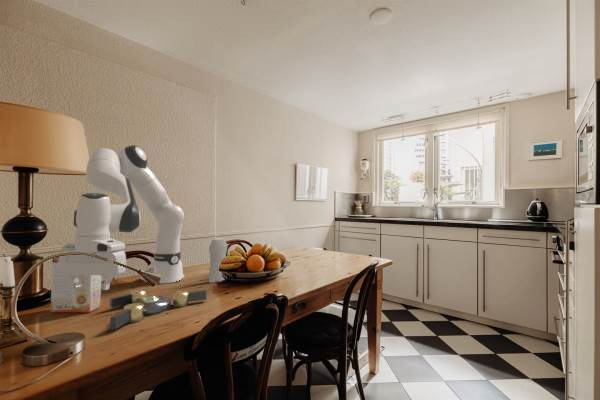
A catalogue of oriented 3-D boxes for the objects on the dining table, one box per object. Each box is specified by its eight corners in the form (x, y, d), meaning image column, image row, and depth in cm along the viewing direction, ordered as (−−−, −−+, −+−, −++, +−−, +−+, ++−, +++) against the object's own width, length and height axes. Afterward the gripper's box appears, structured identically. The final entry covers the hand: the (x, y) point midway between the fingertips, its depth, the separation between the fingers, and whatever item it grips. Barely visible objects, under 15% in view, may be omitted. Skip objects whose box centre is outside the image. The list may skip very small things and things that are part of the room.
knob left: (172, 307, 102) (173, 295, 103) (172, 303, 107) (172, 291, 108) (206, 303, 108) (207, 291, 108) (204, 298, 113) (205, 288, 113)
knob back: (141, 299, 111) (141, 288, 111) (148, 302, 108) (148, 291, 108) (107, 308, 101) (107, 296, 101) (114, 311, 98) (114, 299, 98)
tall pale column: (224, 278, 147) (225, 236, 147) (228, 279, 144) (229, 237, 145) (206, 282, 138) (207, 238, 139) (210, 283, 136) (211, 239, 136)
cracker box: (101, 307, 103) (103, 251, 104) (89, 313, 97) (91, 253, 98) (64, 306, 103) (66, 250, 104) (49, 312, 97) (51, 253, 98)
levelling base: (123, 310, 100) (124, 297, 100) (158, 300, 111) (159, 288, 111) (142, 318, 93) (142, 304, 93) (177, 307, 104) (178, 294, 104)
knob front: (130, 315, 95) (131, 302, 95) (146, 316, 94) (147, 303, 95) (103, 331, 83) (104, 316, 83) (121, 332, 82) (122, 317, 82)
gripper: (52, 244, 84) (50, 290, 84) (115, 246, 83) (113, 293, 82) (70, 242, 90) (68, 284, 90) (130, 244, 89) (128, 287, 88)
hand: (90, 288), depth 86 cm, fingers open, 8 cm apart
